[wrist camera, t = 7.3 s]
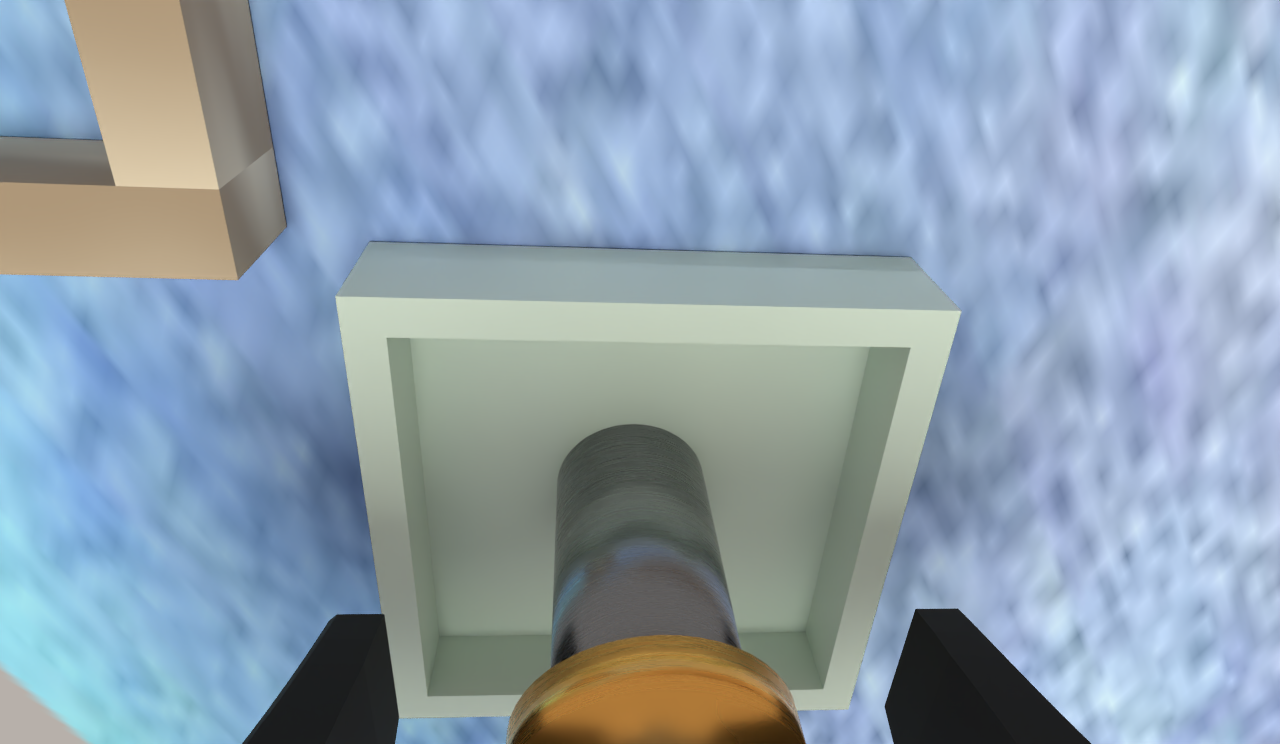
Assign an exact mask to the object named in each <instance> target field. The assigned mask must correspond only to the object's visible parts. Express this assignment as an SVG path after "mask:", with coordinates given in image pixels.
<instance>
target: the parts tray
mask: <svg viewBox="0 0 1280 744" xmlns="http://www.w3.org/2000/svg"><path fill="white" fill-rule="evenodd" d="M335 298H336V304H337V311H338V318H339V325H340V332H341V339H342V345H343V352H344V359H345V366H346V373H347V380H348V386H349V393H350V400H351V407H352V414H353V421H354V427H355V434H356V441H357V448H358V455H359V462H360V468H361V475H362V482H363V489H364V496H365V503H366V509H367V516H368V523H369V530H370V537H371V544H372V550H373V557H374V564H375V571H376V578H377V585H378V591H379V598H380V605H381V612H382V614H384V615H385V622H386V628H387V635H388V642H389V649H390V656H391V663H392V670H393V677H394V684H395V691H396V698H397V705H398V712H399V718H448V717H498V716H511V714H512V712H513V710H514V707H515V705H516V704H517V702H518V701H519V699H520V698H521V696H522V695H523V693H524V692H525V691H526V690H527V689H528V688H529V686H530V685H531V684H532V683H533V682H534V681H535V680H536V679H538V678H539V677H540V676H541V675H542V674H544V673H545V672H546V671H547V670H549V669H550V668H551V642H552V614H553V586H554V559H555V531H556V503H557V479H558V474H559V470H560V468H561V465H562V463H563V461H564V459H565V458H566V456H567V455H568V453H569V452H570V451H571V450H572V449H573V448H574V447H575V446H576V445H577V444H578V443H579V442H581V441H582V440H583V439H585V438H586V437H588V436H590V435H591V434H593V433H595V432H598V431H600V430H602V429H606V428H609V427H612V426H618V425H626V424H642V425H649V426H654V427H658V428H661V429H664V430H666V431H669V432H671V433H673V434H674V435H676V436H678V437H679V438H681V439H682V440H683V441H685V442H686V443H687V444H688V445H689V446H690V447H691V449H692V450H693V451H694V453H695V454H696V456H697V458H698V459H699V462H700V464H701V467H702V472H703V476H704V481H705V485H706V490H707V494H708V499H709V503H710V508H711V513H712V517H713V522H714V526H715V531H716V535H717V540H718V545H719V549H720V554H721V558H722V563H723V567H724V572H725V577H726V581H727V586H728V590H729V595H730V599H731V604H732V608H733V613H734V618H735V622H736V627H737V631H738V636H739V640H740V645H741V650H743V651H745V652H748V653H750V654H752V655H753V656H755V657H757V658H758V659H760V660H761V661H763V662H765V663H766V664H767V665H768V666H769V667H771V668H772V669H773V670H774V671H775V672H776V673H777V674H778V675H779V676H780V677H781V679H782V680H783V681H784V682H785V683H786V685H787V687H788V689H789V690H790V692H791V694H792V697H793V700H794V703H795V706H796V709H797V710H844V709H848V708H849V705H850V701H851V698H852V694H853V691H854V687H855V684H856V680H857V677H858V673H859V670H860V666H861V663H862V659H863V656H864V652H865V649H866V645H867V642H868V638H869V634H870V631H871V627H872V624H873V620H874V617H875V613H876V610H877V606H878V603H879V599H880V596H881V592H882V589H883V585H884V582H885V578H886V575H887V571H888V568H889V564H890V561H891V557H892V554H893V550H894V547H895V543H896V540H897V536H898V532H899V529H900V525H901V522H902V518H903V515H904V511H905V508H906V504H907V501H908V497H909V494H910V490H911V487H912V483H913V480H914V476H915V473H916V469H917V466H918V462H919V459H920V455H921V452H922V448H923V445H924V441H925V438H926V434H927V430H928V427H929V423H930V420H931V416H932V413H933V409H934V406H935V402H936V399H937V395H938V392H939V388H940V385H941V381H942V378H943V374H944V371H945V367H946V364H947V360H948V357H949V353H950V350H951V346H952V343H953V339H954V336H955V332H956V329H957V325H958V321H959V318H960V314H961V310H960V309H959V308H958V307H957V306H956V305H955V304H954V303H953V301H952V300H951V299H950V298H949V297H948V296H947V295H946V294H945V293H944V292H943V291H942V290H941V289H940V288H939V287H938V286H937V284H936V283H935V282H934V281H933V280H932V279H931V278H930V277H929V276H928V275H927V274H926V273H925V272H924V271H923V270H922V269H921V268H920V266H919V265H918V264H917V263H916V262H915V261H914V260H913V259H912V258H911V257H881V256H846V255H812V254H778V253H743V252H709V251H674V250H640V249H606V248H571V247H537V246H502V245H468V244H434V243H399V242H369V243H368V245H367V246H366V248H365V250H364V251H363V253H362V254H361V256H360V258H359V259H358V261H357V262H356V264H355V266H354V267H353V269H352V270H351V272H350V274H349V275H348V277H347V278H346V280H345V282H344V283H343V285H342V286H341V288H340V290H339V291H338V293H337V294H336V296H335Z"/></svg>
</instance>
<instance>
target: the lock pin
mask: <svg viewBox="0 0 1280 744" xmlns="http://www.w3.org/2000/svg"><path fill="white" fill-rule="evenodd" d="M506 744H806V743H805V739H804V735H803V732H802V728H801V724H800V720H799V717H798V713H797V709H796V706H795V703H794V700H793V697H792V694H791V692H790V690H789V689H788V687H787V685H786V683H785V682H784V681H783V680H782V679H781V677H780V676H779V675H778V674H777V673H776V672H775V671H774V670H773V669H772V668H771V667H769V666H768V665H767V664H766V663H765V662H763V661H761V660H760V659H758V658H757V657H755V656H753V655H752V654H750V653H748V652H745V651H743V650H741V645H740V640H739V636H738V631H737V627H736V622H735V618H734V613H733V608H732V604H731V599H730V595H729V590H728V586H727V581H726V577H725V572H724V567H723V563H722V558H721V554H720V549H719V545H718V540H717V535H716V531H715V526H714V522H713V517H712V513H711V508H710V503H709V499H708V494H707V490H706V485H705V481H704V476H703V472H702V467H701V464H700V462H699V459H698V458H697V456H696V454H695V453H694V451H693V450H692V449H691V447H690V446H689V445H688V444H687V443H686V442H685V441H683V440H682V439H681V438H679V437H678V436H676V435H674V434H673V433H671V432H669V431H666V430H664V429H661V428H658V427H654V426H649V425H642V424H626V425H618V426H612V427H609V428H606V429H602V430H600V431H598V432H595V433H593V434H591V435H590V436H588V437H586V438H585V439H583V440H582V441H581V442H579V443H578V444H577V445H576V446H575V447H574V448H573V449H572V450H571V451H570V452H569V453H568V455H567V456H566V458H565V459H564V461H563V463H562V465H561V468H560V470H559V474H558V479H557V503H556V531H555V559H554V586H553V614H552V642H551V668H550V669H549V670H547V671H546V672H545V673H544V674H542V675H541V676H540V677H539V678H538V679H536V680H535V681H534V682H533V683H532V684H531V685H530V686H529V688H528V689H527V690H526V691H525V692H524V693H523V695H522V696H521V698H520V699H519V701H518V702H517V704H516V705H515V707H514V710H513V712H512V714H511V716H510V720H509V724H508V728H507V737H506Z"/></svg>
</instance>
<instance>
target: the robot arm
mask: <svg viewBox="0 0 1280 744" xmlns="http://www.w3.org/2000/svg"><path fill="white" fill-rule="evenodd" d="M885 710H886V714H887V718H888V722H889V726H890V730H891V734H892V738H893V742H894V744H1091V743H1090V742H1089V741H1088V740H1087V739H1086V738H1085V737H1084V736H1083V735H1082V734H1081V733H1080V732H1079V731H1078V730H1077V729H1076V728H1075V727H1074V726H1073V725H1072V724H1071V723H1070V722H1069V721H1068V720H1067V719H1066V718H1065V717H1064V716H1063V715H1062V714H1061V713H1060V712H1059V711H1058V710H1057V709H1056V708H1055V707H1054V706H1053V705H1052V704H1051V703H1050V702H1049V701H1048V700H1047V699H1046V698H1045V697H1044V696H1043V695H1042V694H1041V693H1040V692H1039V691H1038V690H1037V689H1036V688H1035V687H1034V686H1033V685H1032V684H1031V683H1030V682H1029V681H1028V680H1027V679H1026V678H1025V677H1024V676H1023V675H1022V674H1021V673H1020V672H1019V671H1018V670H1017V669H1016V668H1015V667H1014V666H1013V665H1012V664H1011V663H1010V662H1009V660H1008V659H1007V658H1006V657H1005V656H1004V655H1003V654H1002V653H1001V652H1000V651H999V650H998V649H997V648H996V647H995V646H994V645H993V644H992V643H991V642H990V641H989V640H988V639H987V638H986V637H985V636H984V635H983V634H982V633H981V631H980V630H979V629H978V628H977V627H976V626H975V625H974V624H973V623H972V622H971V621H970V620H969V619H968V618H967V617H966V616H965V615H964V614H963V613H962V612H961V611H960V610H959V609H915V613H914V616H913V619H912V622H911V625H910V628H909V631H908V635H907V638H906V641H905V644H904V647H903V650H902V653H901V657H900V660H899V663H898V666H897V669H896V672H895V675H894V679H893V682H892V685H891V688H890V691H889V694H888V697H887V701H886V704H885ZM398 720H399V712H398V705H397V698H396V691H395V684H394V677H393V670H392V663H391V656H390V649H389V642H388V635H387V628H386V622H385V615H384V614H343V615H336V616H335V617H333V618H332V619H331V620H330V621H329V622H328V623H327V625H326V627H325V628H324V630H323V631H322V633H321V634H320V636H319V637H318V639H317V640H316V642H315V643H314V645H313V646H312V648H311V649H310V651H309V652H308V654H307V655H306V657H305V658H304V660H303V661H302V663H301V664H300V665H299V667H298V668H297V670H296V671H295V673H294V674H293V675H292V677H291V678H290V680H289V681H288V683H287V684H286V685H285V687H284V688H283V690H282V691H281V692H280V694H279V695H278V697H277V698H276V699H275V701H274V702H273V703H272V705H271V706H270V708H269V709H268V710H267V712H266V713H265V714H264V716H263V717H262V718H261V720H260V721H259V722H258V724H257V725H256V726H255V728H254V729H253V730H252V732H251V733H250V734H249V735H248V737H247V738H246V739H245V741H244V742H243V743H242V744H395V740H396V733H397V727H398Z"/></svg>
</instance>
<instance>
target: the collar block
mask: <svg viewBox="0 0 1280 744" xmlns="http://www.w3.org/2000/svg"><path fill="white" fill-rule="evenodd" d="M65 4H66V8H67V11H68V15H69V18H70V22H71V26H72V29H73V33H74V37H75V40H76V44H77V47H78V51H79V55H80V58H81V62H82V66H83V69H84V73H85V77H86V80H87V84H88V87H89V91H90V95H91V98H92V102H93V106H94V109H95V113H96V116H97V120H98V124H99V127H100V131H101V135H102V138H103V140H78V139H52V138H26V137H0V274H12V275H52V276H93V277H133V278H173V279H214V280H239V279H240V277H241V276H242V275H243V274H244V273H245V272H246V271H247V270H248V269H249V268H250V266H251V265H252V264H253V263H254V262H255V261H256V260H257V259H258V258H259V257H260V255H261V254H262V253H263V252H264V251H265V250H266V249H267V248H268V247H269V246H270V244H271V243H272V242H273V241H274V240H275V239H276V238H277V237H278V236H279V235H280V234H281V232H282V231H283V230H284V229H285V228H286V227H287V226H286V220H285V214H284V208H283V203H282V197H281V191H280V185H279V179H278V173H277V168H276V162H275V156H274V150H273V144H272V138H271V133H270V127H269V121H268V115H267V109H266V103H265V98H264V92H263V86H262V80H261V74H260V68H259V63H258V57H257V51H256V45H255V39H254V33H253V28H252V22H251V16H250V10H249V4H248V0H65Z"/></svg>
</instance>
